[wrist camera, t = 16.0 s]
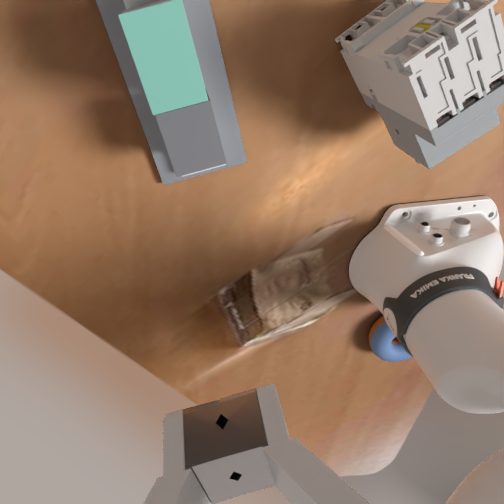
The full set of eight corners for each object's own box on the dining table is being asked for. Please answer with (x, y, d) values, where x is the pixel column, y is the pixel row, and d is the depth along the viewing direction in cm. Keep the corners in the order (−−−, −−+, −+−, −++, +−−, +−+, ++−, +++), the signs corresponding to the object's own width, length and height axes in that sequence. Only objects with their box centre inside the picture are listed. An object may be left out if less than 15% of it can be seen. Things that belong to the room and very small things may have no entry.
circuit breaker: (385, 145, 51) (456, 198, 38) (334, 39, 43) (402, 61, 31) (441, 108, 49) (533, 150, 37) (397, -9, 42) (495, -6, 29)
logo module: (178, -5, 37) (181, -2, 29) (199, 76, 41) (208, 100, 32) (128, 8, 37) (118, 14, 28) (155, 88, 41) (152, 115, 32)
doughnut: (368, 358, 72) (382, 377, 68) (360, 316, 66) (374, 334, 63) (420, 336, 72) (436, 353, 68) (415, 293, 67) (433, 309, 63)
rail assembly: (169, -167, 33) (170, -206, 26) (246, 160, 49) (259, 188, 42) (46, -136, 33) (15, -168, 26) (163, 182, 48) (163, 215, 41)
